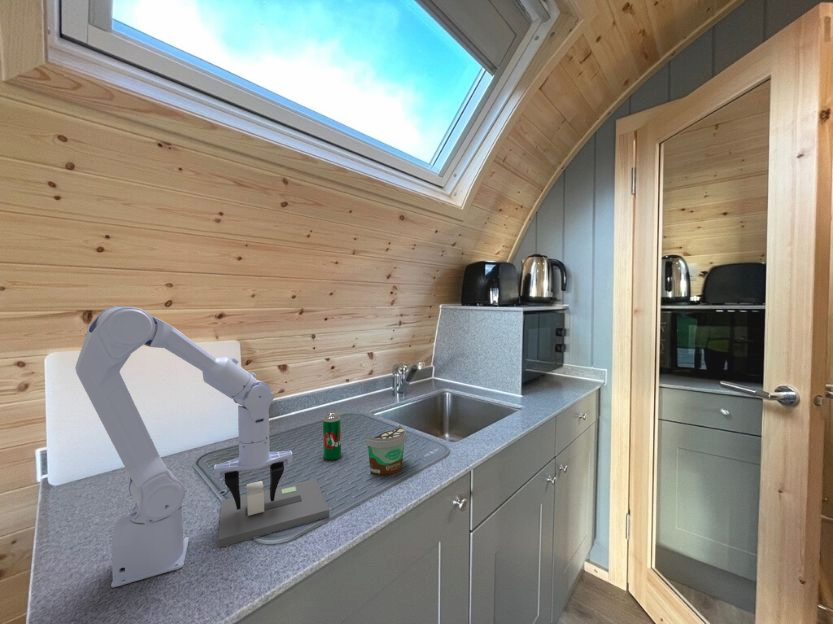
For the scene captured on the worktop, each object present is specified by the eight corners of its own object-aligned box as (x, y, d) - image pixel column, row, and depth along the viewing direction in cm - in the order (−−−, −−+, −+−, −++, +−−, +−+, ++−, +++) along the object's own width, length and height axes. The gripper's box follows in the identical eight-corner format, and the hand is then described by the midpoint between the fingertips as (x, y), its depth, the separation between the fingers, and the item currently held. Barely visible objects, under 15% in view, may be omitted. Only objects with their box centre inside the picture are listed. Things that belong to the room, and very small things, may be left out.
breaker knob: (247, 515, 70) (247, 496, 70) (247, 502, 75) (246, 484, 75) (264, 511, 72) (263, 492, 72) (262, 499, 76) (262, 480, 76)
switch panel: (218, 547, 64) (218, 539, 64) (221, 507, 77) (221, 499, 77) (329, 516, 73) (329, 509, 73) (316, 484, 86) (315, 478, 86)
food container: (382, 484, 86) (381, 443, 85) (365, 475, 90) (365, 437, 89) (416, 466, 95) (416, 429, 94) (400, 459, 99) (400, 424, 99)
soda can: (334, 451, 104) (333, 411, 103) (345, 456, 101) (344, 415, 100) (319, 457, 100) (318, 415, 100) (330, 463, 97) (329, 419, 96)
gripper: (289, 425, 79) (290, 485, 80) (214, 437, 73) (216, 501, 74) (293, 436, 73) (294, 501, 74) (212, 450, 67) (214, 521, 67)
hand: (255, 502), depth 73 cm, fingers open, 6 cm apart
